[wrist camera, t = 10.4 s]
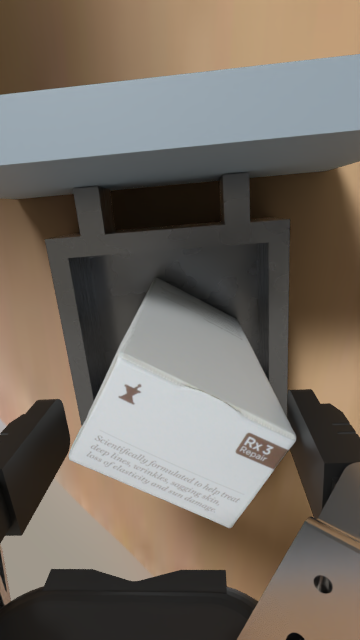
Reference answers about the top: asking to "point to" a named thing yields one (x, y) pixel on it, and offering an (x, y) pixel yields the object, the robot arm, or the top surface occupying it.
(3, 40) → the top surface
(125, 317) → the grey open tray
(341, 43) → the top surface
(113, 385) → the skincare box
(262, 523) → the top surface
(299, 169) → the backboard
